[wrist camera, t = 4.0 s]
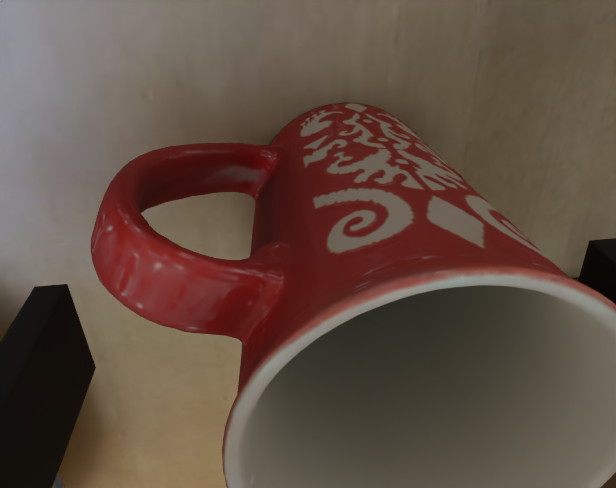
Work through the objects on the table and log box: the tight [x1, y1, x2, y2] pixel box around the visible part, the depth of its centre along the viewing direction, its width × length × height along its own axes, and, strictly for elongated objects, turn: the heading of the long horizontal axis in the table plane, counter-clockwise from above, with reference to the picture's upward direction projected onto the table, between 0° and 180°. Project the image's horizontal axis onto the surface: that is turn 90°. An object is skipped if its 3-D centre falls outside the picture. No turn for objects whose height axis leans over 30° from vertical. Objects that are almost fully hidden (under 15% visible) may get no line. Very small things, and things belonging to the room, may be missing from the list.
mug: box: [91, 103, 616, 488], centre depth 16 cm, size 13×9×14 cm
